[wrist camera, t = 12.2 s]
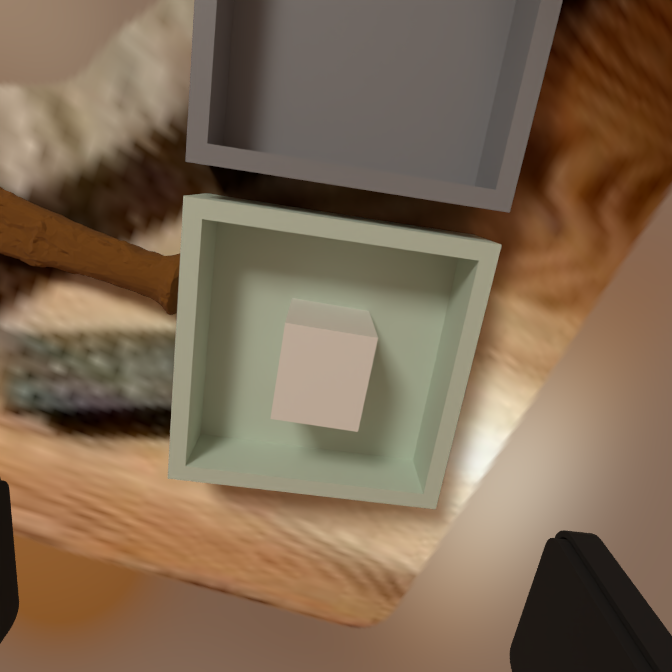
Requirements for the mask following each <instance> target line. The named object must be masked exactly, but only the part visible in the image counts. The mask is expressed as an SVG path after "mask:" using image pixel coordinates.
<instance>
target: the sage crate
mask: <svg viewBox="0 0 672 672" xmlns="http://www.w3.org/2000/svg"><path fill="white" fill-rule="evenodd" d="M501 246H502V245H501V244H498V243H496V242H493V241H490V240H487V239H485V238H482V237H479V236H477V235H473V234H467V233H460V232H454V231H447V230H441V229H434V228H428V227H421V226H415V225H408V224H402V223H395V222H389V221H382V220H376V219H369V218H363V217H356V216H350V215H343V214H337V213H331V212H324V211H318V210H311V209H305V208H298V207H292V206H285V205H279V204H272V203H266V202H259V201H253V200H246V199H240V198H233V197H227V196H220V195H214V194H207V193H205V194H197V195H188V196H184V198H183V215H182V233H181V251H180V269H179V286H178V304H177V322H176V340H175V357H174V375H173V393H172V411H171V428H170V446H169V464H168V479H177V480H185V481H194V482H203V483H211V484H220V485H228V486H237V487H246V488H254V489H263V490H272V491H280V492H289V493H298V494H306V495H315V496H324V497H332V498H341V499H350V500H358V501H367V502H376V503H384V504H393V505H402V506H410V507H419V508H428V509H436V506H437V502H438V498H439V494H440V490H441V486H442V482H443V478H444V474H445V470H446V466H447V462H448V458H449V454H450V450H451V446H452V442H453V438H454V434H455V430H456V426H457V422H458V418H459V414H460V410H461V406H462V402H463V398H464V394H465V390H466V386H467V382H468V378H469V374H470V370H471V366H472V362H473V358H474V354H475V350H476V346H477V342H478V338H479V334H480V330H481V326H482V322H483V318H484V314H485V310H486V306H487V302H488V298H489V294H490V290H491V286H492V282H493V278H494V274H495V270H496V266H497V262H498V258H499V254H500V250H501ZM292 298H295V299H301V300H307V301H313V302H319V303H325V304H331V305H337V306H343V307H349V308H355V309H360V310H366V311H369V312H370V315H371V318H372V321H373V324H374V327H375V330H376V333H377V336H378V341H377V346H376V350H375V355H374V359H373V364H372V369H371V373H370V378H369V383H368V387H367V392H366V397H365V401H364V406H363V411H362V415H361V420H360V425H359V429H358V432H355V431H348V430H342V429H335V428H328V427H322V426H315V425H308V424H302V423H295V422H288V421H282V420H275V419H270V418H271V411H272V405H273V398H274V392H275V385H276V379H277V372H278V366H279V359H280V353H281V347H282V340H283V334H284V327H285V321H286V318H287V314H288V311H289V307H290V303H291V300H292Z"/></svg>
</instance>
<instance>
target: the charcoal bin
mask: <svg viewBox="0 0 672 672" xmlns="http://www.w3.org/2000/svg"><path fill="white" fill-rule="evenodd" d="M562 1H563V0H195V2H194V20H193V38H192V56H191V73H190V91H189V109H188V127H187V144H186V162H192V163H198V164H204V165H211V166H217V167H223V168H230V169H236V170H242V171H249V172H255V173H261V174H268V175H274V176H280V177H287V178H293V179H299V180H306V181H312V182H318V183H325V184H331V185H337V186H344V187H350V188H356V189H363V190H369V191H375V192H382V193H388V194H394V195H401V196H407V197H413V198H420V199H426V200H432V201H439V202H445V203H451V204H458V205H464V206H470V207H477V208H483V209H489V210H496V211H502V212H508V213H510V210H511V206H512V202H513V198H514V194H515V190H516V186H517V182H518V178H519V174H520V170H521V166H522V162H523V158H524V154H525V150H526V146H527V142H528V138H529V134H530V130H531V126H532V122H533V118H534V114H535V110H536V106H537V102H538V98H539V94H540V90H541V86H542V82H543V78H544V74H545V70H546V66H547V62H548V58H549V54H550V50H551V46H552V42H553V38H554V34H555V30H556V26H557V22H558V18H559V13H560V9H561V5H562Z"/></svg>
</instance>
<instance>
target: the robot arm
mask: <svg viewBox="0 0 672 672" xmlns="http://www.w3.org/2000/svg"><path fill="white" fill-rule="evenodd" d="M18 608H19V597H18V585H17V574H16V562H15V551H14V539H13V527H12V515H11V503H10V492H9V486H8V484H7V482H6V481H1V479H0V643H1V642H2V640H3V639H4V637H5V636H6V634H7V633H8V631H9V630H10V628H11V626H12V625H13V623H14V621H15V619H16V616H17V612H18ZM510 664H511V669H512V672H672V636H671V634H670V633H669V632H668V631H667V629H666V627H665V626H664V625H663V623H662V622H661V621H660V619H659V618H658V617H657V615H656V614H655V613H654V611H653V610H652V608H651V607H650V606H649V605H648V603H647V602H646V600H645V599H644V598H643V596H642V595H641V594H640V592H639V591H638V589H637V588H636V587H635V585H634V584H633V583H632V581H631V580H630V579H629V577H628V576H627V574H626V573H625V572H624V571H623V569H622V568H621V566H620V565H619V564H618V562H617V561H616V560H615V558H614V557H613V555H612V554H611V553H610V552H609V550H608V549H607V547H606V546H605V545H604V543H603V542H602V541H601V539H600V538H599V537H598V536H597V535H595V534H592V533H583V532H572V531H560V532H558V533H557V534H556V536H555V538H550V539H549V540H548V541H547V543H546V545H545V548H544V551H543V553H542V556H541V559H540V563H539V565H538V568H537V571H536V574H535V577H534V580H533V583H532V586H531V589H530V592H529V595H528V597H527V600H526V603H525V606H524V609H523V612H522V615H521V618H520V621H519V624H518V627H517V630H516V633H515V636H514V638H513V642H512V644H511V648H510Z"/></svg>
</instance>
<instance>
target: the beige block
mask: <svg viewBox="0 0 672 672" xmlns="http://www.w3.org/2000/svg"><path fill="white" fill-rule="evenodd" d="M377 341H378V336H377V333H376V330H375V327H374V324H373V321H372V318H371V315H370V312H369V311H366V310H360V309H355V308H349V307H343V306H337V305H331V304H325V303H319V302H313V301H307V300H301V299H295V298H292V300H291V303H290V307H289V311H288V314H287V318H286V321H285V327H284V334H283V340H282V347H281V353H280V359H279V366H278V372H277V379H276V385H275V392H274V398H273V405H272V411H271V418H270V419H275V420H282V421H288V422H295V423H302V424H308V425H315V426H322V427H328V428H335V429H342V430H348V431H355V432H358V429H359V425H360V420H361V415H362V411H363V406H364V401H365V397H366V392H367V387H368V383H369V378H370V373H371V369H372V364H373V359H374V355H375V350H376V346H377Z"/></svg>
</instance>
